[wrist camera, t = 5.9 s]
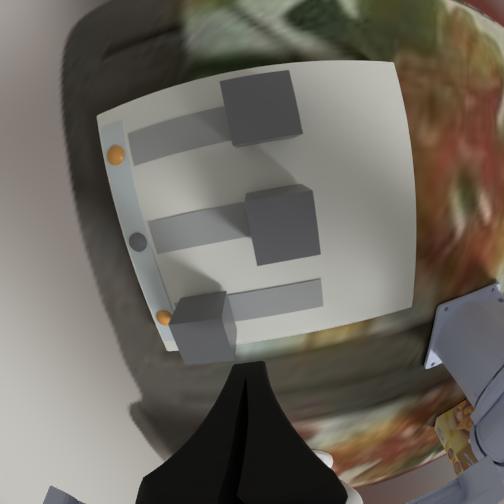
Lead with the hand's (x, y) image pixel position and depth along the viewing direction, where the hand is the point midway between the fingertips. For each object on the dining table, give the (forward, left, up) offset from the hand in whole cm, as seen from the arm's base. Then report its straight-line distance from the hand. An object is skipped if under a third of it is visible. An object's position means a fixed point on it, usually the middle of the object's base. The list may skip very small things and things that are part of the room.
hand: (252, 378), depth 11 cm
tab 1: (+3, 0, -6) cm, 7 cm away
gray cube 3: (-3, -11, -6) cm, 13 cm away
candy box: (-26, +28, -9) cm, 39 cm away
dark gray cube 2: (-3, -5, -6) cm, 9 cm away
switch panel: (-2, -6, -8) cm, 10 cm away
